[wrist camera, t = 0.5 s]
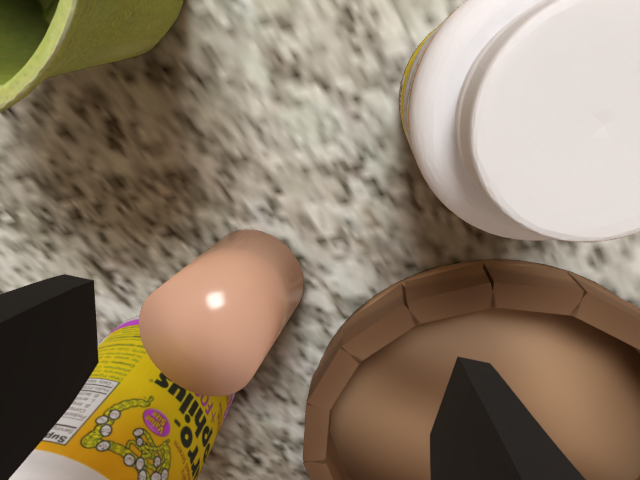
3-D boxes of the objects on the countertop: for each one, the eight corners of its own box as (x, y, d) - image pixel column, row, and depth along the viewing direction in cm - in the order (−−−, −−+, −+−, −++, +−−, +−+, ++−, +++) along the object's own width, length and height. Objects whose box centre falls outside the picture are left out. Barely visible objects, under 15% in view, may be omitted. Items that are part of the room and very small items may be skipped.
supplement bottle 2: (593, 82, 16) (913, 95, 6) (475, 200, 18) (586, 348, 8) (474, -28, 15) (632, -198, 6) (366, 107, 17) (348, 151, 8)
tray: (530, 586, 24) (545, 638, 22) (260, 458, 24) (248, 498, 21) (764, 369, 19) (817, 409, 16) (418, 191, 18) (424, 208, 16)
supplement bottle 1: (254, 416, 23) (115, 797, 11) (135, 425, 24) (-110, 776, 12) (219, 296, 21) (-2, 605, 9) (90, 313, 22) (-261, 604, 10)
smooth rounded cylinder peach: (175, 403, 17) (234, 330, 21) (278, 386, 15) (319, 310, 19) (117, 299, 16) (192, 245, 20) (222, 268, 14) (278, 216, 18)
